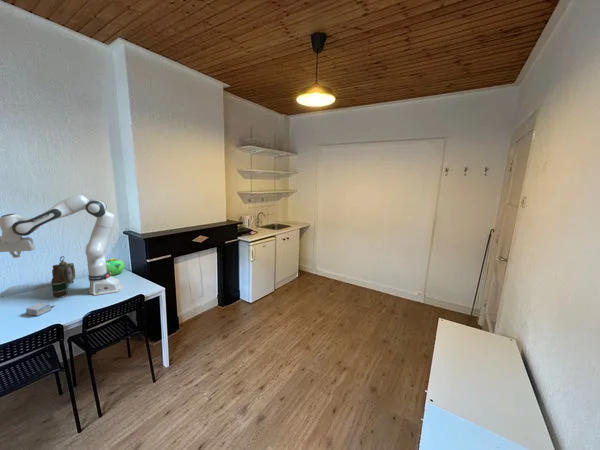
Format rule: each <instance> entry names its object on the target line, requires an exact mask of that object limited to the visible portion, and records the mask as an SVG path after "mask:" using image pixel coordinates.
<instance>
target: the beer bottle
mask: <svg viewBox="0 0 600 450" xmlns="http://www.w3.org/2000/svg"><path fill="white" fill-rule="evenodd" d="M52 270H53V272H54V277H53V276H52V278H51V282H50V283H51V287H52V294H53V297H54V298H55V299H56V298H63V297H65V296H67V294H68V288H67V287H66V284H67V283H66V281H65V278H64V276H62V275H61V273H60V269H59V264H54V265H52Z"/></svg>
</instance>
